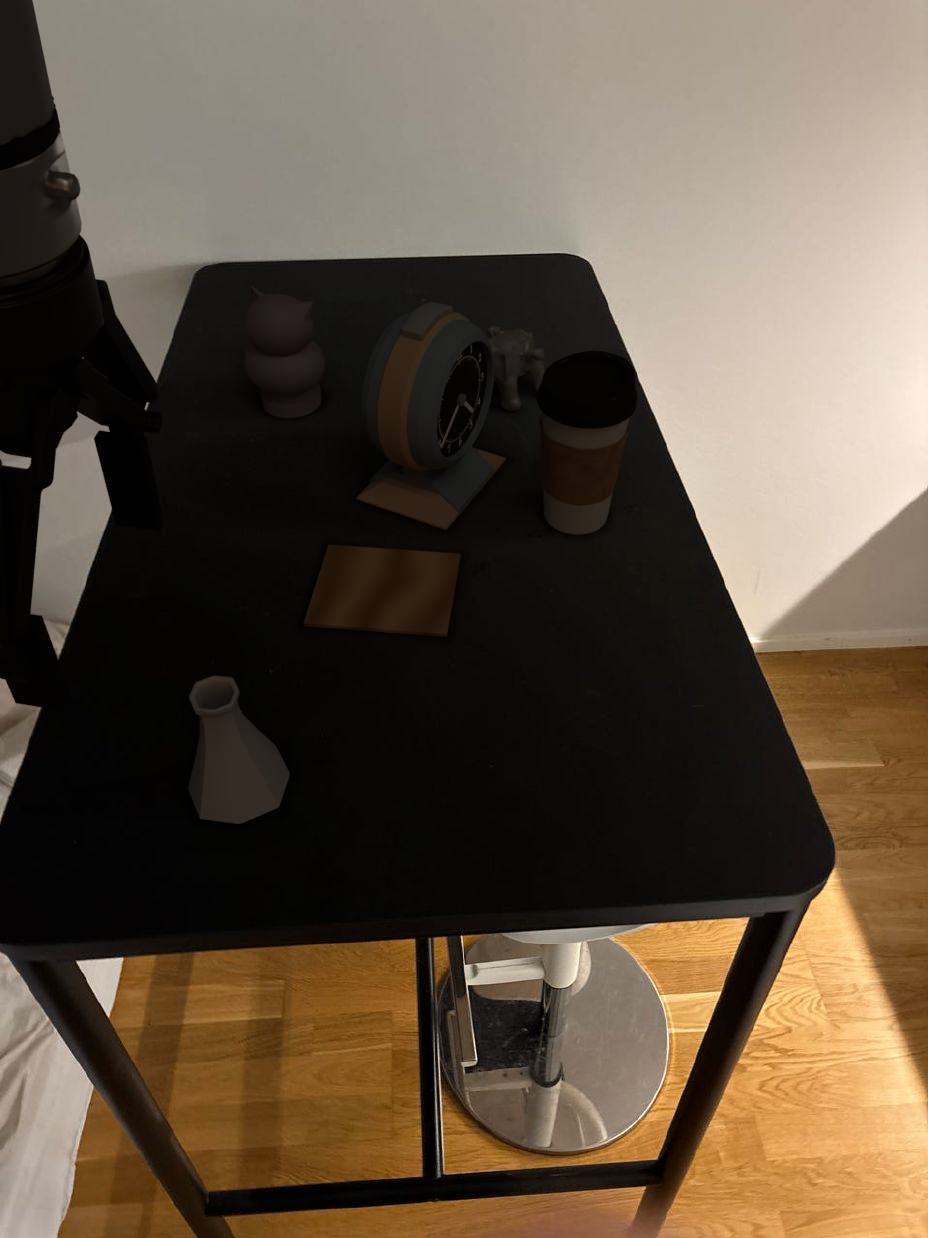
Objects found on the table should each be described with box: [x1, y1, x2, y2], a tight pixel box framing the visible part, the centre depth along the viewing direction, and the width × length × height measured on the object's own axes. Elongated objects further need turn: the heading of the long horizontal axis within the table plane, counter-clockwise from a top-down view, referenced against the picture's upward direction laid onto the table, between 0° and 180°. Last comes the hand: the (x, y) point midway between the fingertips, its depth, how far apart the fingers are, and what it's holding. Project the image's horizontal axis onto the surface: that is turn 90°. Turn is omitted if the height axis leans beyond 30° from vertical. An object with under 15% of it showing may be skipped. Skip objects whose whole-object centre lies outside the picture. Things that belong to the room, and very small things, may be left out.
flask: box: [187, 675, 291, 825], centre depth 67 cm, size 7×7×10 cm
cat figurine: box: [243, 285, 326, 419], centre depth 101 cm, size 8×8×12 cm
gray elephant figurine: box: [485, 324, 546, 412], centre depth 102 cm, size 9×12×8 cm
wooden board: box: [303, 544, 462, 638], centre depth 84 cm, size 12×10×1 cm
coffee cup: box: [536, 350, 638, 536], centre depth 86 cm, size 8×8×15 cm
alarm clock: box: [355, 301, 507, 531], centre depth 89 cm, size 14×10×18 cm
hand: (96, 606), depth 55 cm, fingers open, 13 cm apart
